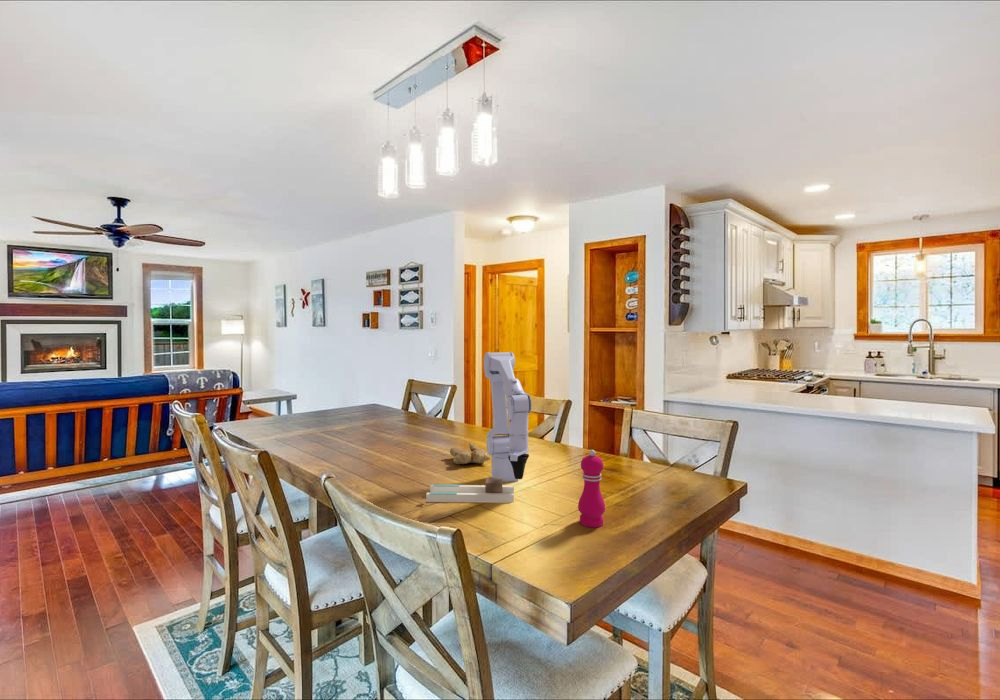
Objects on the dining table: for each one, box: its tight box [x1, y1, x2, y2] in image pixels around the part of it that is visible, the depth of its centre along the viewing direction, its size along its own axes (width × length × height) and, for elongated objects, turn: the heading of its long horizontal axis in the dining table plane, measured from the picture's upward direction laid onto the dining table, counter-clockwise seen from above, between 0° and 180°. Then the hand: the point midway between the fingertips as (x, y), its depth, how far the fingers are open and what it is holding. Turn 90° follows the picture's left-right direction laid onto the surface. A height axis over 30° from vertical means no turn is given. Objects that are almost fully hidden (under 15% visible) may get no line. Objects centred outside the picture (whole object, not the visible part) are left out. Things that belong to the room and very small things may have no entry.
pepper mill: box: [577, 449, 606, 528], centre depth 135 cm, size 7×7×20 cm
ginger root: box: [449, 442, 491, 466], centre depth 194 cm, size 16×16×8 cm
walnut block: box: [484, 477, 503, 493], centre depth 154 cm, size 5×5×5 cm
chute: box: [425, 483, 515, 504], centre depth 154 cm, size 26×10×3 cm, turn 88°
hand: (518, 478), depth 153 cm, fingers closed
